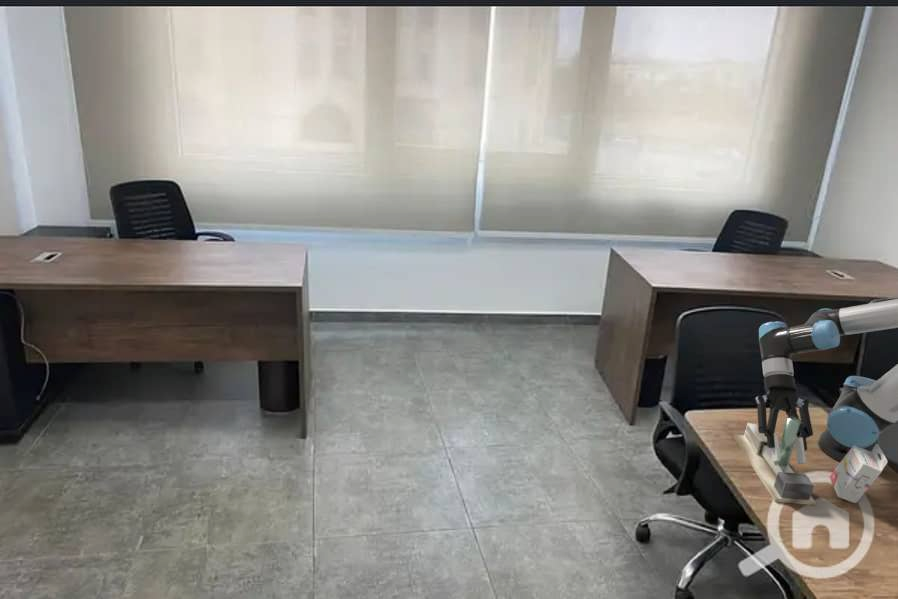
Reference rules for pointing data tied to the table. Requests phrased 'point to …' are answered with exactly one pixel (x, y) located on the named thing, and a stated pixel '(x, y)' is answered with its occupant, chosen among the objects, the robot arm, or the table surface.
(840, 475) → the ink cartridge box
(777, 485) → the tube rig
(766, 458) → the tube
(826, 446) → the robot arm
